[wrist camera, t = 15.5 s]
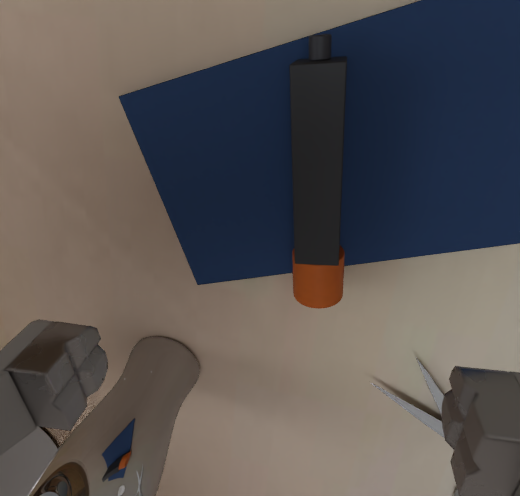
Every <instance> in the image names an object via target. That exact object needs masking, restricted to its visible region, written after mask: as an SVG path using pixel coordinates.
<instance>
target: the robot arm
mask: <svg viewBox="0 0 520 496" xmlns="http://www.w3.org/2000/svg"><path fill="white" fill-rule="evenodd" d="M100 339H101V337H100V335H99V332H98V329H97V328H95V327H92V326H86V325H79V324H71V323H64V322H57V321H56V322H54V321H47V320H40V319H38V320H36V321H33V322H31V323H30V324H28V325H27V326H26V327H25V328H24V329H23V330H22V331H21V332H20V333H19V334H18V335H17V336H16V337H15V338H13V339H12V340H11V341H10V342H9V343H8V344H7V345H6V346H5V347H4V348H3V349H2V350H1V351H0V496H27V494H28V492H29V491H30V489H31V488H32V486H33V485H34V483H35V481H36V480H37V478H38V477H39V475H40V474H41V472H42V471H43V469H44V468H45V466H46V465H47V463H48V462H49V461H50V459H51V458H52V457H53V455H54V454H55V452H56V451H57V450H58V449H57V447H56V445H55V444H54V442H53V441H52V440H51V438H50V437H49V436H48V435H47V434H46V433H45V432H44V431H43V430H42V429H41V428H40V427H46V428H53V429H61V430H68V431H70V430H71V429H72V428H73V426H74V425H75V423H76V422H77V420H78V419H79V417H80V416H81V414H82V413H83V411H84V410H85V408H86V407H87V397H88V396H90V395H91V394H93V393H94V392H96V391H98V389H99V388H100V386H101V384H102V383H103V381H104V379H105V376H106V373H107V369H108V359H107V356H106V352H105V351H104V350H103V349H102V348H101V347H100V346H99V345H98V343H99V341H100ZM449 380H450V384H451V387H452V389H451V390H450V391H448V392H447V393H445V395H444V399H443V402H442V414H441V419H442V428H443V433H444V437H445V441H446V442H447V443H448V444H449V445H450V446H451V447H452V448H453V449H454V453H453V455H452V458H451V461H450V462H451V466H452V470H453V474H454V478H455V482H456V486H457V490H458V494H459V496H520V373H519V372H507V371H499V370H489V369H479V368H469V367H459V366H455V367H454V368H453V370H452V372H451V375H450V378H449Z"/></svg>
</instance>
